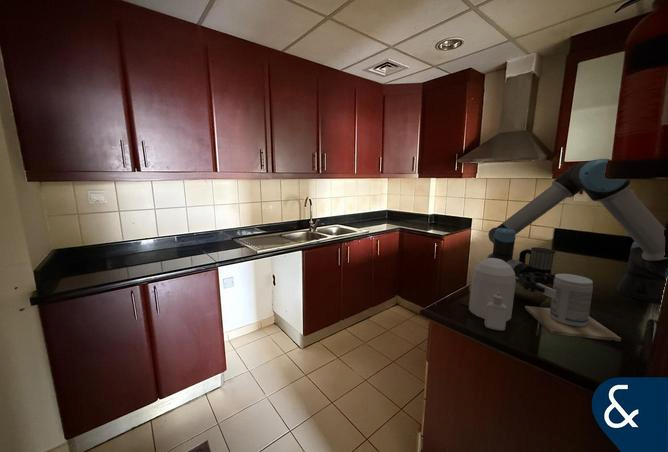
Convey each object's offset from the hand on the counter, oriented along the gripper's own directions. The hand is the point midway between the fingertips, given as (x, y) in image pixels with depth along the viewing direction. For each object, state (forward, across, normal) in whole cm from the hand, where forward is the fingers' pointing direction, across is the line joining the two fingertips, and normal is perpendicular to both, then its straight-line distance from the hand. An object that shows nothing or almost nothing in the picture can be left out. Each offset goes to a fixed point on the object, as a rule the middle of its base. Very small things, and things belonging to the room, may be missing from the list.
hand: (573, 293), depth 87 cm
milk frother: (-37, -23, -11) cm, 45 cm away
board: (0, 0, -11) cm, 11 cm away
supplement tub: (0, 0, -10) cm, 10 cm away
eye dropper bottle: (-1, +26, -11) cm, 28 cm away
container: (-11, +21, -11) cm, 26 cm away
